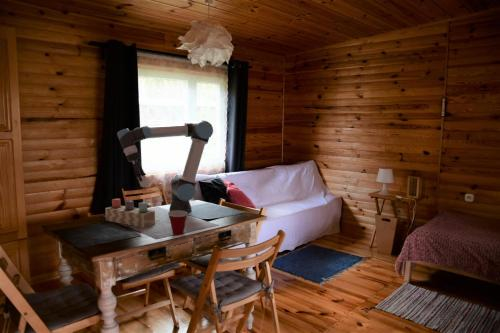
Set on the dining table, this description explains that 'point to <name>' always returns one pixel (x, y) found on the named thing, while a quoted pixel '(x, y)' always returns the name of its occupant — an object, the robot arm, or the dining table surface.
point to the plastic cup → (177, 221)
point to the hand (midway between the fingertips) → (145, 185)
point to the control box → (130, 216)
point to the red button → (116, 203)
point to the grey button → (129, 205)
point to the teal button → (143, 207)
